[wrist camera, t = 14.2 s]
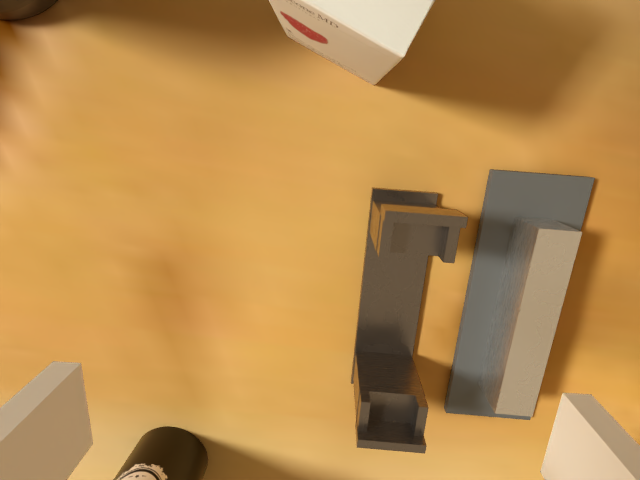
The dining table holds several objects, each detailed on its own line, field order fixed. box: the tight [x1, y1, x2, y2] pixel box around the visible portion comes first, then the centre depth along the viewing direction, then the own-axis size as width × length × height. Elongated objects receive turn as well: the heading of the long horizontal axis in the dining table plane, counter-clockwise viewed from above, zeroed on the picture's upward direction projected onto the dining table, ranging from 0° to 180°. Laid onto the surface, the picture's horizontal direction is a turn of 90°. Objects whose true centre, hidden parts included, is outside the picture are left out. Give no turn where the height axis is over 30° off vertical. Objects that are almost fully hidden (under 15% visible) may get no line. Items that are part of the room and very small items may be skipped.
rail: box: [478, 216, 582, 417], centre depth 36 cm, size 18×4×4 cm, turn 176°
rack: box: [351, 188, 468, 453], centre depth 35 cm, size 21×6×10 cm, turn 176°
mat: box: [444, 169, 595, 420], centre depth 39 cm, size 26×9×1 cm, turn 176°
